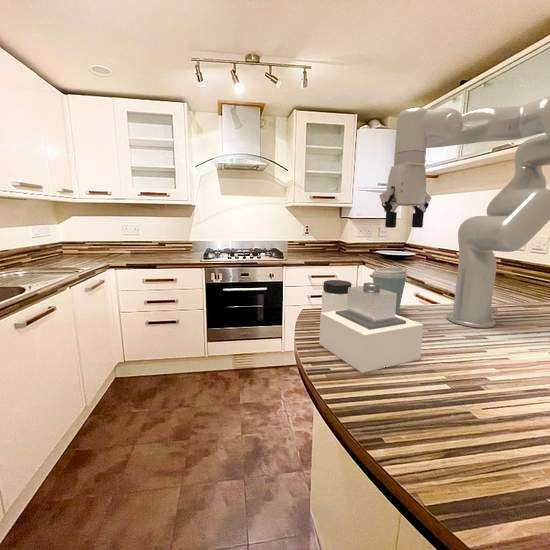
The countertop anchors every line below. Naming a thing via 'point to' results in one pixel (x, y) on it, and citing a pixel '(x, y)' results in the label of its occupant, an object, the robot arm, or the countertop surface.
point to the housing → (371, 303)
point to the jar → (335, 295)
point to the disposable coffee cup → (391, 281)
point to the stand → (370, 340)
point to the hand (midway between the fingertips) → (403, 227)
